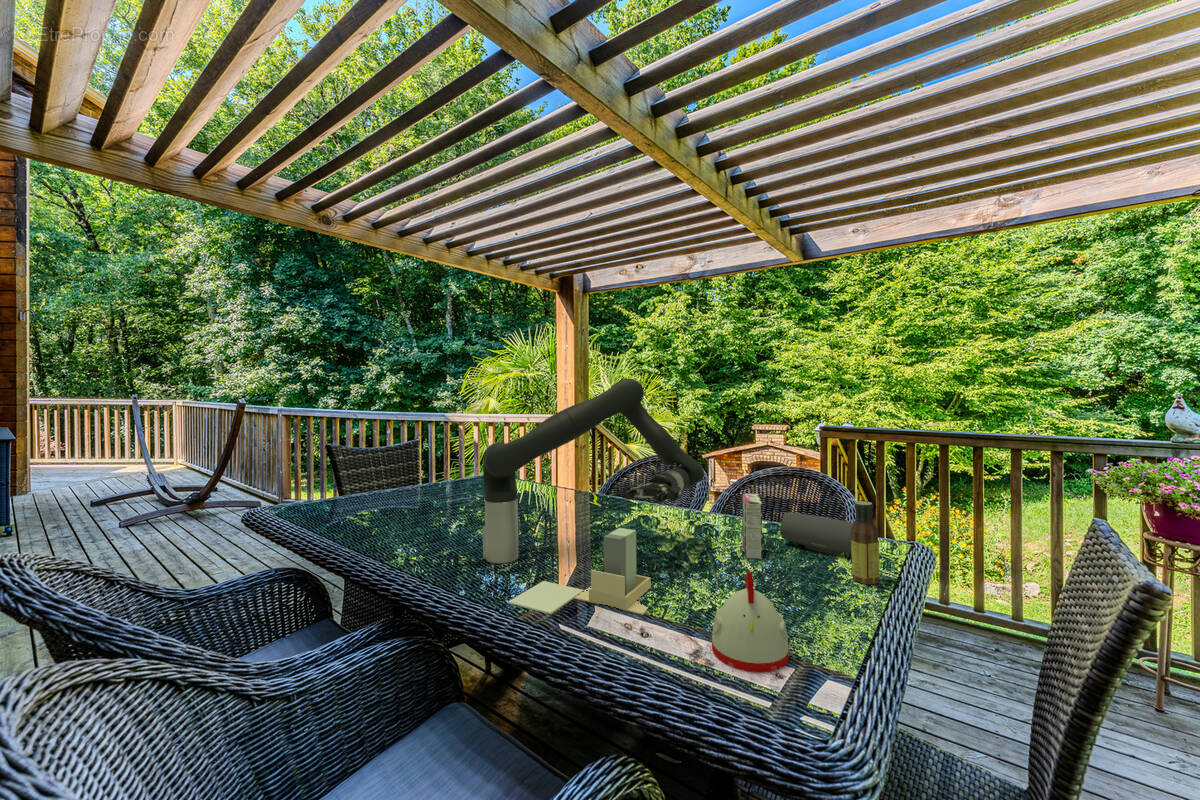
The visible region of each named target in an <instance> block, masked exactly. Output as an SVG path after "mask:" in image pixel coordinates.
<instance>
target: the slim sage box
mask: <svg viewBox="0 0 1200 800" xmlns="http://www.w3.org/2000/svg"><path fill="white" fill-rule="evenodd" d="M603 572H605V573H610V574H615V575H620V576H625V596H626V595H627V594H628V593H630V592H631V591H632V590H633V589H635V588H636V587H637V585H636V575H637V530H636V529H628V528H623V527H618V528H617V529H615V530H613V531H611V532H609V533H608V534H606V535H603Z"/></svg>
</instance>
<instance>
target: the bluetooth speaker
mask: <svg viewBox="0 0 1200 800" xmlns="http://www.w3.org/2000/svg"><path fill="white" fill-rule="evenodd" d="M853 524H854V522H852V521H847V520H841V519H836V518H832V517H827V516H821V515H820V516H819V515H813V514H807V513H805V514H804V513H799V512H785V513H784V514H783V516H782V520H781V525H780V528H779V530H780V536H781V537H782V539H783V540H786V541H789V542H792V543H796V544H799V545H804V549H807V550H811V551H814V552H820V553H824V554H828V555H836V556H841V555H842V554H848V555H851V527H852V525H853Z"/></svg>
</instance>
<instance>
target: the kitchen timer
mask: <svg viewBox="0 0 1200 800" xmlns="http://www.w3.org/2000/svg"><path fill="white" fill-rule="evenodd" d="M745 576H746V577H745V588H742V589H740V590H738V591H736V592H734V593H733V594H732V595H730V596H729V597H728V598H727V599H726V601H724V604H723V605H722V607H721V608H717V610H716V613H715V616H714V621H713V627H712V636H711V651H712V653H713V656H714V657H716V659H717V660H719V661H720V662H722V663H723V664H725V665H726V666H729V667H731V668H734V669H737V670H740V671H744V672H753V673H769V672H773V671H778V670H780V669H782V668H783V667H785V666H786V665H787V663H788V662H789V641H788V639H789V637H788V631H787V626H786V622H785V620H784V618H783V616H782V613H780V612H778V611H777V609H776V608H775V606H774V605H773V603H772V602H771V601H770V599H768V598H767V597H766V596H765V595H764V594H763V593H761V592H760V591H758V590H755V589H754V578H753V571H747V572H746V575H745Z"/></svg>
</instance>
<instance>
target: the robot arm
mask: <svg viewBox="0 0 1200 800" xmlns="http://www.w3.org/2000/svg"><path fill="white" fill-rule="evenodd" d="M644 392H645V389H644V386H643V385H642V383H640V381H638V380H637V379H633V378H623V379H621V380H619V381H617V382H615V383H613V384H612V386H611V387H610V388H608V389H606V390H605V391H603V392H602V393H600V394H598V395H596V396H594V397H591V398H589V399H587V400H583V401H581V402H578V403H575V404H573V405H570V406H569V407H567V408H564V409H562V410H561V411H558V412H556V413H555V414H553V415H551V416H549V417H547V418H545V420H543V421H542V422H540V423H539V424H538V425H537V426H536V427H535V428H533V429H531V431H530V432H528V433H526V434H525V435H522V436H521V437H518V438H516V439H514V440H512V441H509V442H506V443H505V442H494V443H492V444H490V445H489V446H488V447H487V448H486V449H485V451H484V453H483V456H482V457H483V458H482V468H483V471H482V473H483V491H484V492H483V493H484V518H485V519H484V520H485V521H484V522H485V523H484V525H483V526H482V556H483V558H482V559H484V560H485V561H487V562H488V563H491V564H507V563H511V562H514V561H516V560H518V558H519V517H518V516H519V513H518V512H519V511H518V510H519V509H518V506H519V505H518V488H517V481H516V472H517V471H518V470H520V469H521V468H523V467H524V466H526V465H528V464H529V463H530V462H532V461H534V460H536V459H537V458H538V457H540V456H542V455H545V454H547V453H550V452H551V451H553V450H557V449H558V448H560V447H562V446H564V445H567V444H568V443H570V442H572V441H574V440H576V439H578V438H579V437H581V436H583V435H585V434H586V433H587V432H590V431H591V430H592V429H594V428H596V426H598V425H599V424H601V423H603V422H604V421H606V420H608V419H609V418H612V417H613V416H616V415H618V414H621V415H622V416H623V417H625V419H626V420H627V421H629V422H630V424H631V425H632V426H633V427H634V428H635V429H636V430H637V432H638V433H639V434H640V435H641V436H642V437H643V438H644V440H645V442H646V443H647V444H648V445H649V447H650V448H651V449H652V450H653V452H654V453H655V454H656V456H657V457H658V458H659V459H660V461H661V462H662V463H663V464H664V465H666V466H670V465H672V464H673V465H674V464H679V466H678V467H675V468H672V469H670V470H665V471H663V472H661V473H658V474H656V475H654V476H652V477H651V478H650V480H649V481H648V482H647V483H645V484H639V483H638V482H635V483H633V484H630V485H627V486H625V491H624V498H625V500H627V501H630V500H632V499H634V498H640V499H648V498H649V499H653V500H655V504H660V503H664V502H668V501H669V500H670V501H671V502H676V501H678V500H679V499H680V498H681V497H682V492H684V491H686V490H687V489H690V488H691V487H692V486H694V485H696V484H697V483H700V482H701V481H703V480H704V478H705V470H704V469H703V466H702V465H701V463H699V462H698V461H697V460H696V459H695V458H693V457H692V456H691V455H689V454H688V453H687V452H685V450H683V449H682V448H681V447H680V446H679V444H678V443H677V442H676V441H675V439H674V438H673V437H672V435H671V434H670V432H668V431H667V430H666V429H665V427H663V425H661V424H660V423H659V422H658V421H657V420H655V419H654V417H652V415H651V414H650V413H648V411H647V410H646V408H645V407H644V406H643V404H642V401H643V398H644V395H645V393H644Z"/></svg>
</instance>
